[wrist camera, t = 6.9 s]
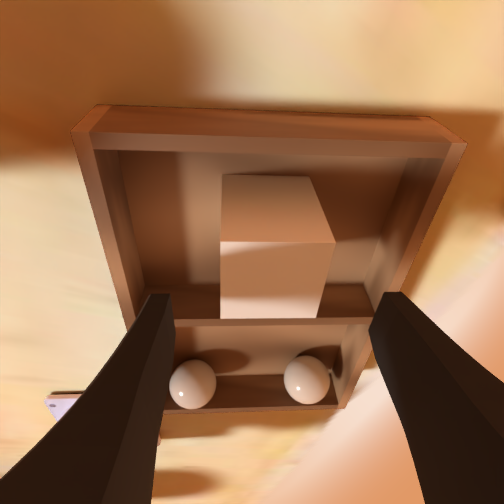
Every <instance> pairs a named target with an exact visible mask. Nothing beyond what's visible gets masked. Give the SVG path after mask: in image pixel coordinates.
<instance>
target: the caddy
mask: <svg viewBox="0 0 504 504" xmlns="http://www.w3.org/2000/svg"><path fill="white" fill-rule="evenodd" d="M70 133H71V137H72V140H73V144H74V147H75V151H76V154H77V158H78V161H79V165H80V168H81V172H82V175H83V179H84V182H85V185H86V189H87V192H88V196H89V199H90V203H91V206H92V210H93V213H94V217H95V220H96V224H97V227H98V231H99V234H100V238H101V241H102V245H103V248H104V252H105V255H106V259H107V262H108V266H109V269H110V273H111V276H112V280H113V283H114V287H115V290H116V294H117V297H118V301H119V304H120V308H121V311H122V315H123V318H124V322H125V325H126V329H127V332H128V330H129V329H130V327H131V326H132V324H133V322H134V321H135V319H136V317H137V316H138V314H139V312H140V310H141V309H142V307H143V305H144V303H145V301H146V299H147V297H148V296H149V295H150V294H164V293H170V295H171V302H172V310H173V317H174V324H175V331H176V337H175V349H174V359H173V366H172V371H171V375H172V373H173V371H174V370H175V368H176V367H177V366H178V365H180V364H181V363H183V362H184V361H187V360H191V359H197V360H202V361H204V362H206V363H207V364H208V365H210V366H211V368H212V369H213V371H214V373H215V376H216V382H217V383H216V390H215V393H214V395H213V397H212V398H211V400H210V401H209V402H208V403H207V404H205V405H204V406H202V407H200V408H197V409H186V408H183V407H181V406H179V405H178V404H177V403H176V402H175V401H174V400H173V398H172V396H171V394H170V389H169V386H168V391H167V396H166V401H165V406H164V411H163V414H188V413H219V412H250V411H282V410H313V409H344V408H345V407H346V405H347V403H348V401H349V399H350V396H351V394H352V392H353V390H354V388H355V386H356V384H357V381H358V379H359V377H360V375H361V373H362V371H363V368H364V366H365V364H366V362H367V360H368V358H369V356H370V353H371V351H372V349H373V348H372V344H371V340H370V336H369V332H368V329H369V326H370V324H371V322H372V319H373V317H374V314H375V312H376V310H377V307H378V305H379V302H380V300H381V298H382V295H383V293H384V292H399V291H400V289H401V286H402V284H403V282H404V280H405V278H406V276H407V274H408V271H409V269H410V267H411V265H412V263H413V261H414V258H415V256H416V254H417V252H418V250H419V248H420V246H421V243H422V241H423V239H424V237H425V235H426V233H427V230H428V228H429V226H430V224H431V222H432V220H433V217H434V215H435V213H436V211H437V209H438V207H439V205H440V202H441V200H442V198H443V196H444V194H445V192H446V189H447V187H448V185H449V183H450V181H451V179H452V176H453V174H454V172H455V170H456V168H457V166H458V164H459V161H460V159H461V157H462V155H463V153H464V151H465V148H466V146H467V144H468V143H466V142H465V141H464V140H462V139H461V138H459V137H458V136H457V135H455V134H454V133H452V132H451V131H449V130H448V129H447V128H445V127H444V126H442V125H441V124H439V123H438V122H437V121H435V120H434V119H432V118H431V117H422V116H394V115H367V114H340V113H312V112H285V111H257V110H230V109H203V108H175V107H148V106H120V105H96V106H95V107H94V108H93V109H92V110H91V111H90V112H89V113H88V114H87V115H86V116H85V117H84V118H83V119H82V120H81V121H80V122H79V123H78V124H77V125H76V126H75V127H74V128H73V129H72V130H71V131H70ZM222 174H233V175H270V176H308V177H309V178H310V180H311V182H312V185H313V187H314V190H315V192H316V195H317V197H318V200H319V202H320V205H321V207H322V210H323V212H324V215H325V217H326V219H327V222H328V224H329V227H330V229H331V232H332V234H333V237H334V239H335V242H336V245H335V248H334V252H333V256H332V260H331V263H330V267H329V271H328V274H327V278H326V282H325V286H324V289H323V293H322V297H321V300H320V304H319V308H318V312H317V315H316V318H246V319H220V235H221V194H222ZM304 355H307V356H312V357H315V358H317V359H319V360H320V361H321V362H322V363H323V364H324V365H325V366H326V368H327V370H328V372H329V376H330V386H329V390H328V392H327V394H326V395H325V397H324V398H323V399H322V400H320V401H319V402H317V403H314V404H303V403H300V402H298V401H296V400H294V399H293V398H292V397H291V396H290V395H289V393H288V392H287V390H286V388H285V384H284V373H285V370H286V367H287V366H288V364H289V363H290V362H291V361H292V360H293V359H295V358H296V357H299V356H304ZM170 378H171V376H170ZM169 382H170V381H169Z"/></svg>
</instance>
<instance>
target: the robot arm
mask: <svg viewBox="0 0 504 504" xmlns="http://www.w3.org/2000/svg"><path fill="white" fill-rule="evenodd" d="M368 332H369V336H370V340H371V344H372V348H373V352H374V355H375V359H376V361H377V364H378V366H379V369H380V371H381V374H382V376H383V379H384V381H385V383H386V386H387V388H388V391H389V394H390V396H391V398H392V401H393V403H394V405H395V408H396V411H397V413H398V416H399V418H400V420H401V423H402V426H403V428H404V431H405V434H406V438H407V440H408V444H409V448H410V451H411V454H412V457H413V461H414V464H415V468H416V471H417V475H418V479H419V482H420V486H421V490H422V493H423V497H424V501H425V504H504V383H503V382H502V381H500V380H499V379H498V378H497V377H495V376H494V375H493V374H491V373H490V372H489V371H488V370H486V369H485V368H484V367H483V366H482V365H480V364H479V363H478V362H477V361H476V360H475V359H473V358H472V357H471V356H470V355H469V354H468V353H466V352H465V351H464V350H463V349H462V348H461V347H460V346H459V345H457V344H456V343H455V342H454V341H453V340H452V339H450V337H449V336H448V335H446V334H445V333H444V332H443V331H442V330H441V329H440V328H439V327H438V326H437V325H436V324H435V323H434V322H433V321H432V320H431V319H430V318H428V317H427V316H426V315H425V314H424V313H423V312H422V311H421V310H420V309H419V308H418V307H417V306H416V305H415V304H414V303H413V302H412V301H411V300H410V299H409V298H408V297H406V296H405V295H404V294H403V293H402V292H384V293H383V295H382V298H381V300H380V302H379V305H378V307H377V310H376V312H375V314H374V317H373V319H372V322H371V324H370V326H369V329H368ZM175 337H176V331H175V324H174V317H173V310H172V302H171V295H170V293H164V294H150V295H149V296H148V297H147V299H146V301H145V303H144V305H143V307H142V309H141V310H140V312H139V314H138V316H137V317H136V319H135V321H134V322H133V324H132V326H131V327H130V329H129V330H128V332H127V333H126V335H125V336H124V338H123V339H122V341H121V342H120V344H119V345H118V347H117V349H116V350H115V351H114V353H113V354H112V356H111V357H110V358H109V360H108V361H107V362H106V364H105V365H104V366H103V368H102V369H101V371H100V372H99V373H98V375H97V376H96V377H95V379H94V380H93V381H92V382H91V384H90V385H89V386H88V387H87V389H86V390H85V391H84V392H83V393H82V394H64V395H48V396H46V397H45V399H44V403H45V404H46V406H47V407H48V409H49V410H50V412H51V413H52V415H53V416H54V418H55V419H56V421H57V423H56V424H55V425H54V426H53V427H52V428H51V429H50V431H49V432H48V433H47V434H46V435H45V436H44V437H43V438H42V439H41V440H40V441H39V442H38V443H37V444H36V445H35V446H34V447H33V448H32V449H31V450H30V451H29V452H28V453H27V454H26V455H25V456H24V457H23V458H22V459H21V460H20V461H19V462H18V463H17V464H16V465H15V466H13V467H12V468H11V469H10V470H9V471H8V472H7V473H6V474H5V475H4V476H3V477H2V478H1V479H0V504H151V497H152V487H153V478H154V469H155V460H156V451H157V446H159V445H160V443H161V439H160V435H159V431H160V426H161V421H162V416H163V411H164V406H165V401H166V396H167V391H168V386H169V381H170V376H171V371H172V366H173V359H174V349H175Z"/></svg>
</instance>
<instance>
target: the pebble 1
mask: <svg viewBox="0 0 504 504" xmlns="http://www.w3.org/2000/svg"><path fill="white" fill-rule="evenodd" d="M216 383H217V382H216V376H215V373H214V371H213V369H212V368H211V366H210V365H208V364H207V363H206V362H204V361H202V360H197V359H191V360H187V361H184V362H183V363H181V364H180V365H178V366H177V367H176V368H175V370H174V371H173V373H172V375H171V378H170V382H169V389H170V394H171V396H172V398H173V400H174V401H175V402H176V403H177V404H178V405H179V406H181V407H183V408H186V409H197V408H200V407H202V406H204V405H205V404H207V403H208V402H209V401H210V400H211V398H212V397H213V395H214V393H215V390H216Z"/></svg>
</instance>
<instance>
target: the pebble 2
mask: <svg viewBox="0 0 504 504" xmlns="http://www.w3.org/2000/svg"><path fill="white" fill-rule="evenodd" d="M284 384H285V388H286V390H287V392H288V393H289V395H290V396H291V397H292V398H293V399H294V400H296V401H298V402H300V403H303V404H314V403H317V402H319V401H320V400H322V399H323V398H324V397H325V395H326V394H327V392H328V390H329V386H330V376H329V372H328V370H327V368H326V366H325V365H324V364H323V363H322V362H321V361H320V360H319V359H317V358H315V357H312V356H307V355H304V356H299V357H296V358H295V359H293V360H292V361H291V362H290V363H289V364H288V366H287V367H286V370H285V373H284Z"/></svg>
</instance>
